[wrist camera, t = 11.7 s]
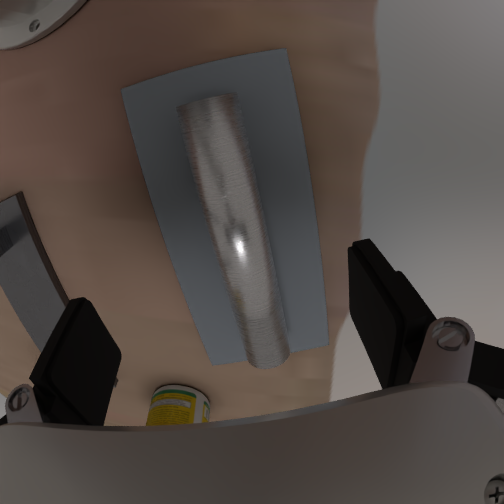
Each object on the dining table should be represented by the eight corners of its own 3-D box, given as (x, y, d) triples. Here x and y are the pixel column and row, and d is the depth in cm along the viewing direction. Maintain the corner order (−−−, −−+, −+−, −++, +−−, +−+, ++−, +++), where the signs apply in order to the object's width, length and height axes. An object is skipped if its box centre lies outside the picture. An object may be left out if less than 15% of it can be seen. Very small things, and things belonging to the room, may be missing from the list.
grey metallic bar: (179, 107, 15) (171, 107, 12) (235, 93, 15) (239, 90, 12) (244, 342, 22) (249, 373, 19) (286, 333, 22) (294, 362, 19)
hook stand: (-24, 214, 17) (-134, 304, 6) (21, 191, 17) (-116, 293, 5) (69, 381, 25) (27, 490, 14) (117, 380, 25) (81, 507, 13)
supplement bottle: (222, 404, 27) (219, 497, 18) (183, 421, 28) (173, 505, 19) (178, 374, 25) (162, 476, 16) (141, 395, 26) (120, 484, 17)
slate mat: (124, 89, 15) (120, 89, 14) (284, 49, 14) (286, 48, 14) (212, 360, 24) (212, 365, 23) (327, 339, 23) (329, 344, 23)
